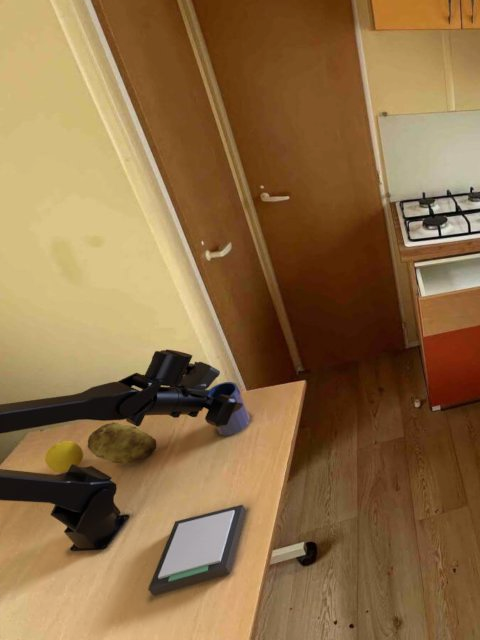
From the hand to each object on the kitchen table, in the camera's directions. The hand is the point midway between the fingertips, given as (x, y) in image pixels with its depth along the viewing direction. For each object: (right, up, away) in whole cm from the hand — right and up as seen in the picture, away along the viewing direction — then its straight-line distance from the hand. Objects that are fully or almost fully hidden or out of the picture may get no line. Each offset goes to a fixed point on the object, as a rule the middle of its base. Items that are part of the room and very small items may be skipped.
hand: (231, 401), depth 105 cm
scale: (+11, -20, -24) cm, 33 cm away
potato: (-20, -11, -6) cm, 24 cm away
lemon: (-30, -12, -9) cm, 34 cm away
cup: (-1, -6, +2) cm, 7 cm away
